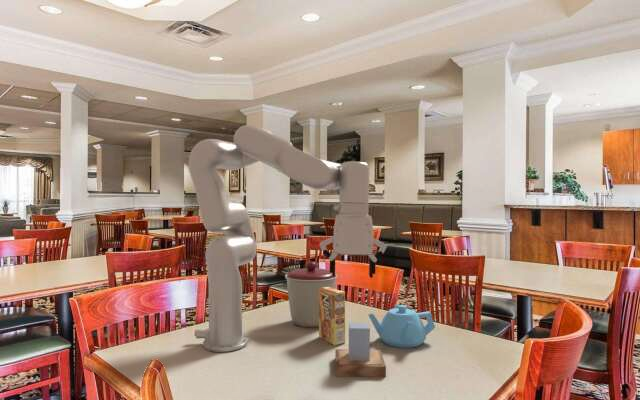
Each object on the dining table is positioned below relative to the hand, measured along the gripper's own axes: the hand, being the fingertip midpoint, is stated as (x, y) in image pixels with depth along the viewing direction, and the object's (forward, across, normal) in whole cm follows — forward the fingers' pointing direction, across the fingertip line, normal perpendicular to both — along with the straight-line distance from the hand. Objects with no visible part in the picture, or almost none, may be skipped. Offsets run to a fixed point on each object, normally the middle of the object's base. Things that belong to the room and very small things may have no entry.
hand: (352, 276), depth 108 cm
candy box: (+23, -5, +18) cm, 30 cm away
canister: (+24, -12, +35) cm, 44 cm away
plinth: (+23, +2, -2) cm, 23 cm away
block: (+20, +2, -2) cm, 20 cm away
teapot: (+23, +16, +18) cm, 33 cm away
